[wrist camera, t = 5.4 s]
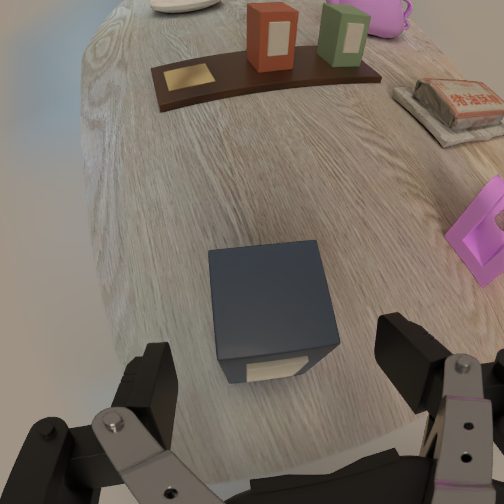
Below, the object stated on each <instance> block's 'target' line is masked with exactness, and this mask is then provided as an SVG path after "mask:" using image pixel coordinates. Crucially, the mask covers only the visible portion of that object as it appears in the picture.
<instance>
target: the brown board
mask: <svg viewBox="0 0 504 504" xmlns="http://www.w3.org/2000/svg"><path fill="white" fill-rule="evenodd" d="M151 71H152V76H153V81H154V85H155V90H156V94H157V99H158V103H159V108H160V112H164V111H168V110H172V109H176V108H180V107H184V106H189V105H193V104H197V103H202V102H207V101H212V100H217V99H222V98H227V97H232V96H238V95H244V94H250V93H257V92H263V91H271V90H278V89H286V88H295V87H305V86H316V85H330V84H347V83H380V82H381V79H382V76H380V75H379V74H378V73H377V72H376V71H374V70H373V69H372V68H371V67H370V66H368V65H367V64H366V63H365V62H363V61H362V60H361V64H360V67H332V66H331V65H330V64H329V63H327V62H326V61H325V60H324V59H323V58H321V57H320V56H319V55H318V54H317V46H296V47H295V51H294V61H293V69H290V70H279V71H270V72H262V73H258V72H257V71H256V69H255V68H254V67H253V66H252V65H251V63H250V62H249V61H248V60H247V51H239V52H232V53H225V54H218V55H212V56H206V57H201V58H195V59H190V60H185V61H181V62H176V63H171V64H167V65H163V66H159V67H155V68H151Z"/></svg>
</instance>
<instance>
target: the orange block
mask: <svg viewBox="0 0 504 504" xmlns="http://www.w3.org/2000/svg"><path fill="white" fill-rule="evenodd" d="M297 22H298V11H297V10H295V9H293V8H292V7H290V6H288V5H286V4H284V3H283V2H269V3H248V4H247V60H248V61H249V62H250V63H251V65H252V66H253V67H254V68H255V69H256V71H257V72H258V73H262V72H270V71H279V70H290V69H293V61H294V51H295V42H296V32H297Z"/></svg>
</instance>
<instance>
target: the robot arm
mask: <svg viewBox="0 0 504 504" xmlns="http://www.w3.org/2000/svg"><path fill="white" fill-rule="evenodd" d="M374 353H375V359H376V361H377V363H378V365H379V366H380V367H381V369H382V370H383V371H384V373H385V374H386V375H387V377H388V378H389V379H390V381H391V382H392V383H393V385H394V386H395V388H396V389H397V390H398V392H399V393H400V394H401V396H402V397H403V398H404V400H405V401H406V402H407V404H408V405H409V406H410V408H411V409H412V411H413V412H414V413H415V415H416V414H418V413H421V412H424V411H426V410H427V411H428V412H429V414H428V417H427V420H426V426H425V431H424V436H423V441H422V445H421V450H420V454H419V456H399V454H398V452H397V451H396V449H395V448H392V449H389V450H386V451H383V452H380V453H376V454H373V455H370V456H367V457H364V458H361V459H359V460H357V461H355V462H354V463H352V464H350V465H348V466H346V467H344V468H342V469H340V470H337V471H335V472H334V473H331V474H326V475H282V476H275V477H268V478H260V479H251V480H250V486H251V489H250V490H247V491H244V492H242V493H239V494H237V495H235V496H233V497H231V498H229V499H227V500H226V501H224V502H223V501H222V500H221V499H220V498H219V497H218V496H217V495H216V494H215V493H213V492H212V491H211V490H210V489H209V488H208V487H207V486H206V485H205V484H204V483H203V482H202V481H201V480H200V479H199V478H198V477H197V476H196V475H195V474H194V473H193V472H192V471H191V470H190V469H189V468H188V467H187V466H186V465H185V464H184V463H183V462H182V461H181V460H180V459H179V458H178V457H177V456H176V455H175V454H174V453H173V452H172V451H171V450H170V448H171V440H172V432H173V425H174V417H175V410H176V403H177V396H178V379H177V374H176V370H175V366H174V362H173V358H172V354H171V349H170V346H169V343H168V342H160V343H148V344H147V346H146V349H145V352H144V355H143V356H141V357H135V358H134V359H133V360H132V361H131V362H130V363H129V364H128V365H127V367H126V369H125V372H124V376H123V377H122V379H121V383H120V384H119V387H118V389H117V392H116V395H115V397H114V400H113V402H112V405H111V408H107V409H105V410H103V411H101V412H99V413H98V414H97V415H96V416H95V417H94V419H93V421H92V424H91V425H87V426H82V427H75V428H68V426H67V424H66V423H65V421H63V420H62V419H60V418H58V417H47V418H44V419H41V420H39V421H38V422H36V423H35V424H34V425H33V426H32V428H31V429H30V431H29V433H28V435H27V437H26V440H25V442H24V444H23V446H22V448H21V450H20V453H19V455H18V457H17V459H16V462H15V464H14V466H13V468H12V471H11V473H10V476H9V478H8V481H7V483H6V485H5V488H4V490H3V493H2V496H1V498H0V504H98V503H99V497H100V491H101V487H107V486H113V485H119V484H126V486H127V487H128V489H129V490H130V491H131V493H132V494H133V496H134V497H135V498H136V500H137V501H138V503H139V504H504V482H501V481H497V480H494V479H492V464H493V441H494V443H495V444H496V445H497V447H498V448H499V450H500V451H501V452H502V454H503V455H504V349H501V350H500V351H499V352H498V353H497V356H496V359H495V362H491V363H484V364H480V362H479V361H478V360H477V359H476V358H474V357H473V356H470V355H467V354H452V353H451V352H450V351H449V350H447V349H446V348H445V347H444V346H443V345H442V344H441V343H440V342H439V341H437V340H436V339H434V337H433V336H432V335H431V334H428V332H427V331H426V330H425V329H424V328H423V327H422V326H420V325H418V324H415V323H413V322H411V321H408V320H407V319H406V318H404V317H403V316H402V315H401V314H400V313H399V312H395V313H390V314H385V315H381V316H379V318H378V323H377V332H376V340H375V349H374Z"/></svg>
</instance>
